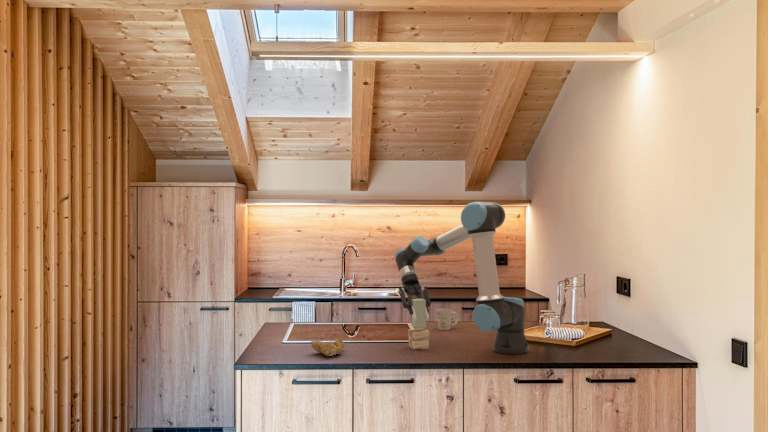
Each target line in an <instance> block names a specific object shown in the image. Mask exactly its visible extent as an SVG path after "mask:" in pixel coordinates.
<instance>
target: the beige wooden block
mask: <svg viewBox="0 0 768 432" xmlns="http://www.w3.org/2000/svg"><path fill="white" fill-rule="evenodd" d="M409 346H410V347H411V348H410V347H409ZM408 347H409V348H410V349H412V350H413V349H414V350H413V351H416V350H415V349H422V350H429V349H430V340H425V341H413V340H411V339H409V338H408Z"/></svg>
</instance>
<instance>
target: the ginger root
mask: <svg viewBox="0 0 768 432" xmlns="http://www.w3.org/2000/svg"><path fill="white" fill-rule="evenodd" d="M310 344H311V348H313V350H314V351H315V352H317V353H321V354H323V355H325V356H326V357H328V356H332V357H334V356H333V355H335V356H337V355H336V354H338V353H341V354H342V353H343V348H345V347H346V344H345V343H344V341H343V338H341V337H338V338H336V339H335V341H326V342H323V341H321V340H314V341H313V340H311V342H310Z"/></svg>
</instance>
